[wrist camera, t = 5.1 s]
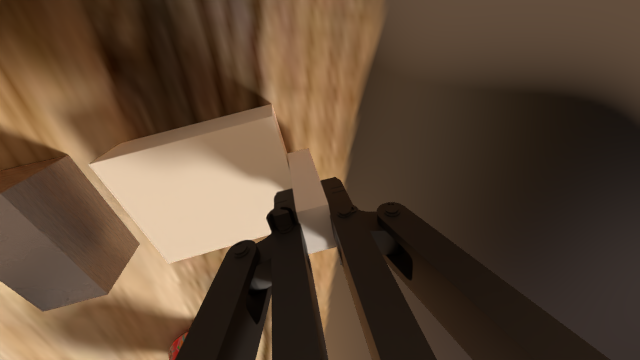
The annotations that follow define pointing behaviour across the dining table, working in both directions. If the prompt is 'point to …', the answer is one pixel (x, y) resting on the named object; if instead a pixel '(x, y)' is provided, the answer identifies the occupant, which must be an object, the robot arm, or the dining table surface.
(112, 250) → the block
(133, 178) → the cream rectangular block
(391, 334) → the robot arm
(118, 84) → the dining table surface
